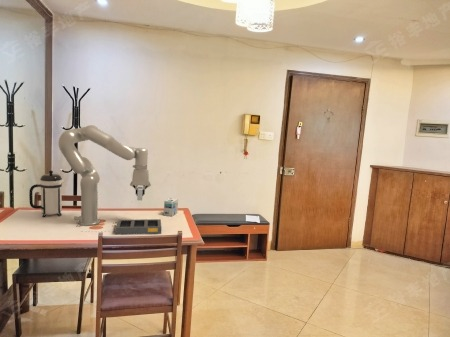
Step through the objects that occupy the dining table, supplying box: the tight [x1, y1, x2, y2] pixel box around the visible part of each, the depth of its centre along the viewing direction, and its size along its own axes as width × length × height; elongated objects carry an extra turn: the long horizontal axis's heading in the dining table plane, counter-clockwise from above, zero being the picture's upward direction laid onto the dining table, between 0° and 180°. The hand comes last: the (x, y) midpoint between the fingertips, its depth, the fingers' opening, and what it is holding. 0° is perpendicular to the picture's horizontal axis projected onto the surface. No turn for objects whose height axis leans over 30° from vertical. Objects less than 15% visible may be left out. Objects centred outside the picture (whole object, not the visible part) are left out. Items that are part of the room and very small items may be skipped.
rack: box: [115, 218, 162, 236], centre depth 200 cm, size 26×16×4 cm, turn 103°
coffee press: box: [28, 170, 65, 218], centre depth 217 cm, size 17×16×30 cm
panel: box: [136, 186, 143, 201], centre depth 212 cm, size 3×10×7 cm, turn 13°
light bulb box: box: [163, 197, 179, 217], centre depth 236 cm, size 11×7×11 cm, turn 168°
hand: (140, 195), depth 212 cm, fingers closed on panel, 3 cm apart
